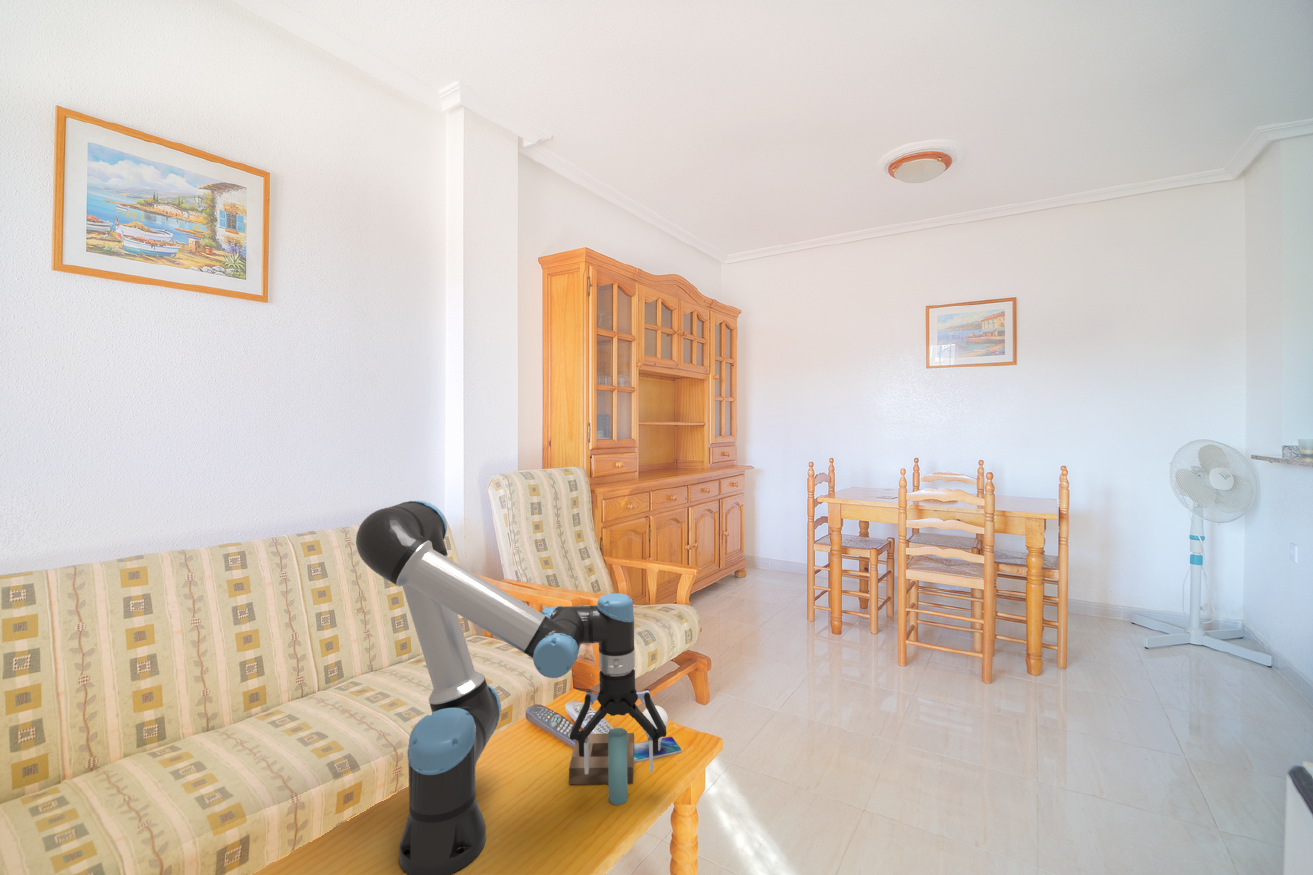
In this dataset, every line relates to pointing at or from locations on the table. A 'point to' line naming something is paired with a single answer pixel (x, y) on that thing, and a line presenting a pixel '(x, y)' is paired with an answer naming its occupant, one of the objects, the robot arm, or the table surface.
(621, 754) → the peg
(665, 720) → the light bulb
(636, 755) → the smartphone
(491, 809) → the table surface
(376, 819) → the table surface
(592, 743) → the socket block
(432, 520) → the robot arm
